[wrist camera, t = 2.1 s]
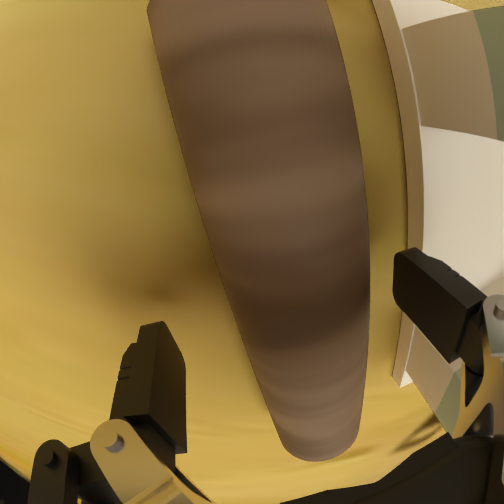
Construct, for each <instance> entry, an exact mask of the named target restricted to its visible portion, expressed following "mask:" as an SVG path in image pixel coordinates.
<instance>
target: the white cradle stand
mask: <svg viewBox="0 0 504 504" xmlns="http://www.w3.org/2000/svg"><path fill="white" fill-rule="evenodd" d="M372 2H373V5H374V8H375V11H376V14H377V17H378V20H379V23H380V27H381V30H382V33H383V37H384V40H385V44H386V48H387V52H388V56H389V60H390V64H391V69H392V73H393V78H394V83H395V88H396V93H397V99H398V105H399V111H400V118H401V125H402V133H403V141H404V151H405V162H406V176H407V197H408V248H407V249H409V248H412V247H416V248H418V249H419V250H421V251H422V252H423V253H425V254H426V255H427V256H430V257H433V258H436V259H438V260H441V261H443V262H444V263H446V264H447V265H448V266H450V267H451V268H452V270H455V271H456V272H457V273H459V275H460V276H463V277H464V278H465V279H466V280H468V281H469V282H470V283H472V284H473V285H474V286H475V287H477V288H478V289H479V290H480V291H481V292H483V293H484V294H485V295H486V296H487V297H489V296H491V295H495V294H500V295H504V6H500V7H492V8H485V9H479V10H473V11H468V10H466V9H463V8H461V7H458V6H455V5H453V4H450V3H447V2H444V1H441V0H372ZM462 362H463V360H462V359H461V358H458V359H456V360H455V361H453V362H452V363H450V364H448V362H447V361H446V360H445V359H444V358H443V356H442V355H441V354H440V353H439V352H438V350H437V349H436V348H435V347H434V346H433V345H432V343H431V342H430V341H429V340H428V339H427V338H426V336H425V335H424V334H423V333H422V332H421V331H420V330H419V328H418V327H417V326H416V325H415V324H414V323H413V322H412V321H411V319H410V318H409V317H408V316H407V315H406V314H405V313H404V312H403V313H402V321H401V328H400V335H399V342H398V348H397V354H396V359H395V364H394V370H393V375H392V377H393V378H394V380H395V382H396V383H397V385H398V386H399V388H401V387H403V386H405V385H407V384H409V383H411V382H414V384H415V385H416V386H417V388H418V389H419V391H420V392H421V394H422V395H423V397H424V398H425V400H426V401H427V403H428V404H429V406H430V408H431V409H432V411H433V412H434V414H435V415H436V417H437V418H438V420H439V421H440V423H441V425H442V426H443V428H444V429H445V431H446V433H447V432H449V434H450V435H451V437H452V436H453V432H454V428H455V425H456V423H457V420H458V417H459V411H460V391H461V364H462Z"/></svg>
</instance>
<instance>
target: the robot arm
mask: <svg viewBox="0 0 504 504" xmlns="http://www.w3.org/2000/svg"><path fill="white" fill-rule="evenodd" d="M393 296H394V299H395V302H396V303H397V305H398V306H399V307H400V308H401V310H402V311H403V312H404V313H405V314H406V315H407V316H408V317H409V318H410V319H411V321H412V322H413V323H414V324H415V325H416V326H417V327H418V328H419V330H420V331H421V332H422V333H423V334H424V335H425V336H426V338H427V339H428V340H429V341H430V342H431V343H432V345H433V346H434V347H435V348H436V349H437V350H438V352H439V353H440V354H441V355H442V356H443V358H444V359H445V360H446V361H447V362H448V364H450V363H452V362H453V361H455V360H456V359H458V358H461V359H462V360H463V362H462V364H461V391H460V411H459V417H458V420H457V423H456V425H455V428H454V432H453V436H452V437H451V435H450V434H449V432H447V433H446V434H444V435H443V436H441V437H439V438H438V439H436V440H435V441H433V442H431V443H430V444H428V445H426V446H425V447H423V448H421V449H419V450H417V451H416V452H414V453H413V454H412V455H410V456H409V457H408V458H407V459H406V460H405V461H403V462H402V463H401V464H400V465H399V466H397V467H396V468H395V469H394V470H392V471H391V472H390V473H388V474H387V475H386V476H385V477H383V478H382V479H381V480H379V481H377V482H375V483H371V484H366V485H360V486H354V487H348V488H341V489H333V490H326V491H323V492H319V493H316V494H313V495H309V496H306V497H302V498H298V499H295V500H291V501H286V502H282V503H280V504H504V295H500V294H495V295H491V296H489V297H487V296H486V295H485V294H484V293H483V292H481V291H480V290H479V289H478V288H477V287H475V286H474V285H473V284H472V283H470V282H469V281H468V280H466V279H465V278H464V277H463V276H460V275H459V273H457V272H456V271H455V270H452V268H451V267H450V266H448V265H447V264H446V263H444V262H443V261H441V260H438V259H436V258H433V257H430V256H427V255H426V254H425V253H423V252H422V251H421V250H419V249H418V248H416V247H412V248H409V249H407V250H404V251H401V252H398V253H396V254H395V256H394V271H393ZM181 453H187V434H186V367H185V362H184V359H183V356H182V353H181V351H180V350H179V348H178V346H177V344H176V342H175V340H174V339H173V337H172V335H171V333H170V331H169V329H168V327H167V325H166V324H165V322H163V321H160V322H155V323H151V324H147V325H143V326H141V327H140V330H139V334H138V339H137V343H132V344H130V346H129V347H128V349H127V350H126V352H125V353H124V355H123V357H122V362H121V366H120V371H119V375H118V381H117V384H116V388H115V393H114V398H113V403H112V408H111V414H110V419H109V420H108V421H106V422H104V423H102V424H101V425H100V426H98V427H97V429H96V430H95V431H94V433H93V435H92V437H91V441H90V442H87V443H84V444H81V445H78V446H75V447H72V448H68V447H67V446H66V445H64V444H63V443H62V442H60V441H59V440H54V439H53V440H48V441H46V442H44V443H43V444H42V445H41V446H40V447H39V448H38V450H37V452H36V454H35V458H34V463H33V469H32V475H31V481H30V489H29V497H28V504H77V500H78V498H79V499H81V500H82V501H81V504H216V503H215V502H214V501H213V500H211V499H210V498H209V497H208V496H207V495H206V494H205V493H204V492H203V491H202V490H200V489H199V488H198V487H197V486H196V485H195V484H194V483H193V482H192V481H191V480H190V479H189V478H188V477H187V476H186V475H185V474H184V473H183V472H182V471H181V470H180V469H179V468H178V467H177V466H176V465H175V454H181Z"/></svg>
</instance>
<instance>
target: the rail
mask: <svg viewBox="0 0 504 504" xmlns="http://www.w3.org/2000/svg"><path fill="white" fill-rule="evenodd" d="M147 14H148V19H149V23H150V28H151V32H152V37H153V41H154V45H155V49H156V54H157V58H158V62H159V66H160V70H161V74H162V78H163V82H164V86H165V90H166V94H167V98H168V102H169V105H170V109H171V113H172V117H173V120H174V124H175V128H176V131H177V135H178V139H179V142H180V146H181V149H182V153H183V156H184V160H185V163H186V167H187V170H188V174H189V177H190V181H191V184H192V187H193V191H194V194H195V197H196V201H197V204H198V207H199V210H200V214H201V217H202V220H203V223H204V227H205V230H206V233H207V236H208V239H209V242H210V246H211V249H212V252H213V255H214V258H215V261H216V264H217V267H218V270H219V273H220V276H221V279H222V282H223V285H224V288H225V291H226V294H227V297H228V300H229V303H230V306H231V309H232V312H233V314H234V317H235V320H236V323H237V326H238V329H239V332H240V334H241V337H242V340H243V343H244V346H245V348H246V351H247V354H248V357H249V359H250V362H251V365H252V368H253V370H254V373H255V376H256V378H257V381H258V384H259V386H260V389H261V392H262V394H263V397H264V399H265V402H266V405H267V407H268V410H269V412H270V415H271V417H272V420H273V423H274V425H275V428H276V430H277V433H278V435H279V438H280V440H281V442H282V444H283V446H284V448H285V449H286V450H287V451H288V452H289V453H290V454H292V455H293V456H295V457H297V458H299V459H302V460H305V461H315V462H317V461H325V460H329V459H332V458H335V457H337V456H339V455H340V454H342V453H343V452H345V451H346V450H347V449H348V448H349V447H350V446H351V445H352V444H353V442H354V441H355V439H356V437H357V434H358V431H359V425H360V419H361V412H362V404H363V397H364V388H365V378H366V368H367V355H368V340H369V319H370V251H369V229H368V214H367V201H366V190H365V180H364V171H363V163H362V155H361V148H360V141H359V135H358V128H357V122H356V117H355V111H354V106H353V101H352V96H351V91H350V86H349V82H348V77H347V73H346V68H345V64H344V60H343V56H342V52H341V49H340V45H339V41H338V38H337V34H336V31H335V27H334V24H333V21H332V18H331V14H330V11H329V8H328V5H327V2H326V0H150V1H149V4H148V6H147Z"/></svg>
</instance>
